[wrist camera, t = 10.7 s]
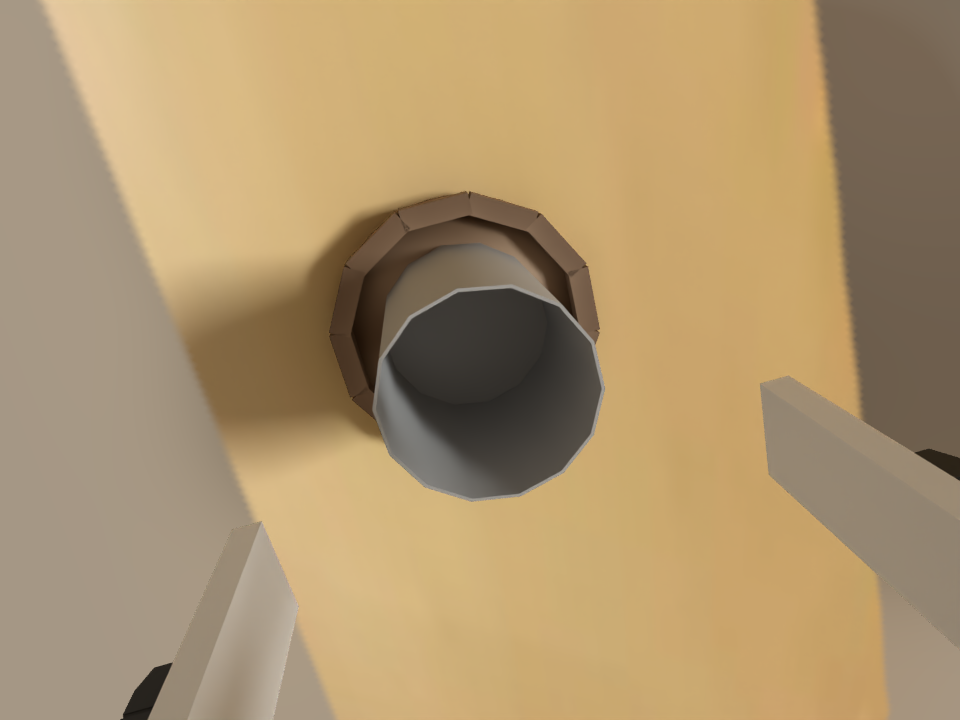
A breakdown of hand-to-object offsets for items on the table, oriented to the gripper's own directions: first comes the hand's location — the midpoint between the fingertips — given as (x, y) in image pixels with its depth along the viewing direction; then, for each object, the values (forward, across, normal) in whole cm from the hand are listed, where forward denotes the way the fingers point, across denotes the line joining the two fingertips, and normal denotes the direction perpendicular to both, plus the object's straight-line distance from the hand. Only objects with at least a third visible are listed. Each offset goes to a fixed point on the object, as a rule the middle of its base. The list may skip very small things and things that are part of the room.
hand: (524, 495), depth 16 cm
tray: (+18, 0, 0) cm, 18 cm away
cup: (+17, 0, 0) cm, 17 cm away
